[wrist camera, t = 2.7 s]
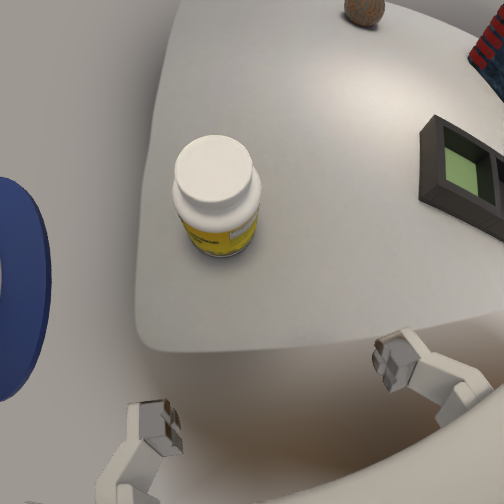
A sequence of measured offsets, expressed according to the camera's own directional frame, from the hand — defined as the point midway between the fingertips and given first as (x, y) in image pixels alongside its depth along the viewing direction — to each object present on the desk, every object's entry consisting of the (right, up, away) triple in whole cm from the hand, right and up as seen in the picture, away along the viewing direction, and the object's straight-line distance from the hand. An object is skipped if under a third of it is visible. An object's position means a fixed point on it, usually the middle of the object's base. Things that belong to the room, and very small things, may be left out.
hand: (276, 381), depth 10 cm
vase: (+18, +45, +28) cm, 56 cm away
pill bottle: (-4, +7, +18) cm, 19 cm away
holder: (+28, +12, +20) cm, 37 cm away
